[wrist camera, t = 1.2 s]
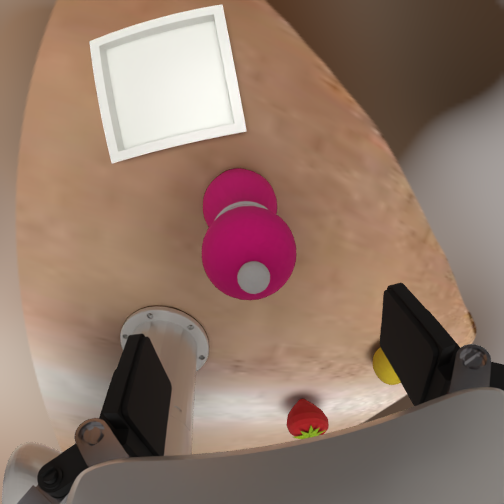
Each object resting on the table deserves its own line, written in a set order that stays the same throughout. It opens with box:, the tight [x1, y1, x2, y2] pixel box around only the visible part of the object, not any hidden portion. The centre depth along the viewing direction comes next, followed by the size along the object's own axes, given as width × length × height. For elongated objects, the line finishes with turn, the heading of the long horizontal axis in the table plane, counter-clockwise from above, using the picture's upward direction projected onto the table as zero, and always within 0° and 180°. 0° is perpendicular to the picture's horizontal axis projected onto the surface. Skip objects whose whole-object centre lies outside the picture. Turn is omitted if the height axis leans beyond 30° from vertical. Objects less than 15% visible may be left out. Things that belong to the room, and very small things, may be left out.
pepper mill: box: [202, 168, 296, 300], centre depth 25 cm, size 7×7×20 cm
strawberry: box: [287, 399, 328, 439], centre depth 45 cm, size 6×8×10 cm
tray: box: [89, 5, 247, 163], centre depth 27 cm, size 14×14×3 cm
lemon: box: [373, 347, 401, 385], centre depth 42 cm, size 6×6×8 cm
